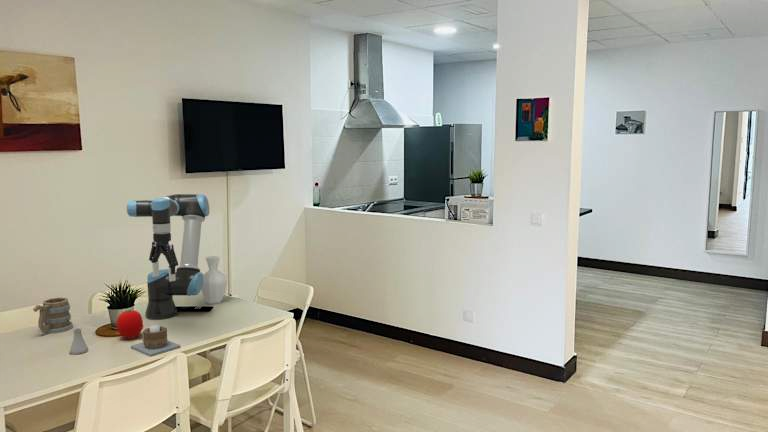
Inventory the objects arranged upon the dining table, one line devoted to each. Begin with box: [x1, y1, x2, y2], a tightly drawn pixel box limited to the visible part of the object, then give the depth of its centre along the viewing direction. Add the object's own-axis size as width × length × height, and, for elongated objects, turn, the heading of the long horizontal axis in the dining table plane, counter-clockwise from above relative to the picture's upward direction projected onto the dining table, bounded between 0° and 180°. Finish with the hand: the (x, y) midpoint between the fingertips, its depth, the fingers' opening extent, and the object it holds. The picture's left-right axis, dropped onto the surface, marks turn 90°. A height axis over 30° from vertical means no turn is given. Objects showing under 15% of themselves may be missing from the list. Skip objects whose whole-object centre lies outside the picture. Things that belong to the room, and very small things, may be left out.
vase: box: [201, 255, 228, 305], centre depth 322 cm, size 14×14×25 cm
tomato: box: [115, 309, 144, 339], centre depth 265 cm, size 11×11×13 cm
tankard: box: [32, 297, 74, 334], centre depth 273 cm, size 20×13×15 cm, turn 168°
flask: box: [68, 327, 89, 355], centre depth 247 cm, size 7×7×10 cm
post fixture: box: [130, 324, 181, 357], centre depth 252 cm, size 16×14×10 cm
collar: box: [142, 325, 168, 347], centre depth 252 cm, size 9×9×6 cm
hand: (164, 278), depth 265 cm, fingers open, 13 cm apart
